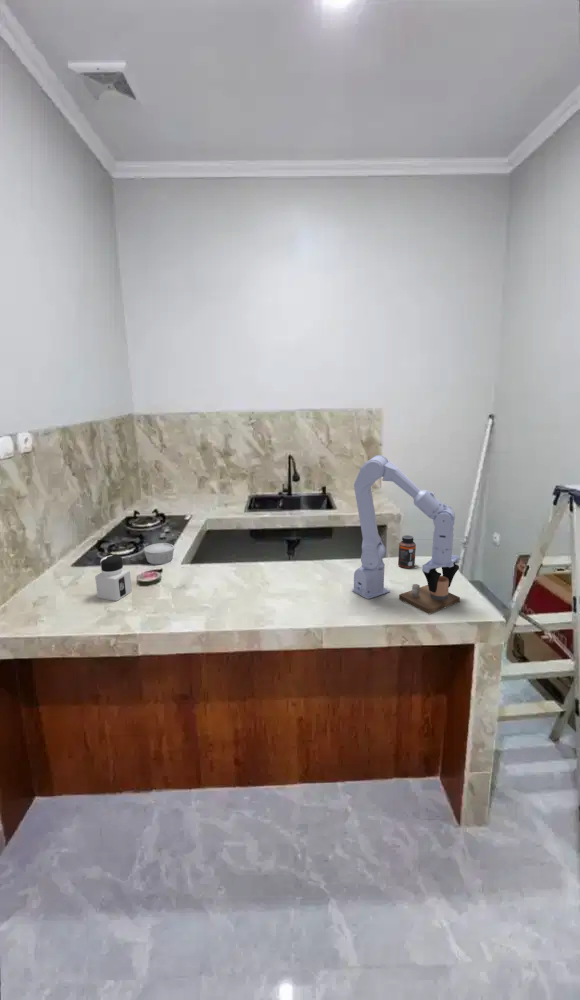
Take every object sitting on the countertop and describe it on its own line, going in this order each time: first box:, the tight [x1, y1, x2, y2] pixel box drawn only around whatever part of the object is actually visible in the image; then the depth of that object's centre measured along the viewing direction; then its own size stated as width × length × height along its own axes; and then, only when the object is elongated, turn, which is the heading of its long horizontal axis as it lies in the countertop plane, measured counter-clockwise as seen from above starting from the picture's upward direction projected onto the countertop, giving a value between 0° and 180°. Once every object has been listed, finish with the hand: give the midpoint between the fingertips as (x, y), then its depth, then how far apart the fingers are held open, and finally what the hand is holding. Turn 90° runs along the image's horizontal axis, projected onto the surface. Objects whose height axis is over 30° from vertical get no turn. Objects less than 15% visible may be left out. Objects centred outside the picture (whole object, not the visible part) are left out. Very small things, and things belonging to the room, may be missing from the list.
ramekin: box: [143, 542, 175, 565], centre depth 183 cm, size 11×11×5 cm
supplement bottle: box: [397, 534, 417, 569], centre depth 173 cm, size 6×6×11 cm
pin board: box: [398, 583, 461, 615], centre depth 147 cm, size 14×12×5 cm
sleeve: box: [430, 575, 450, 601], centre depth 146 cm, size 5×5×6 cm
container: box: [95, 554, 133, 602], centre depth 152 cm, size 8×8×13 cm
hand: (439, 588), depth 146 cm, fingers open, 6 cm apart
